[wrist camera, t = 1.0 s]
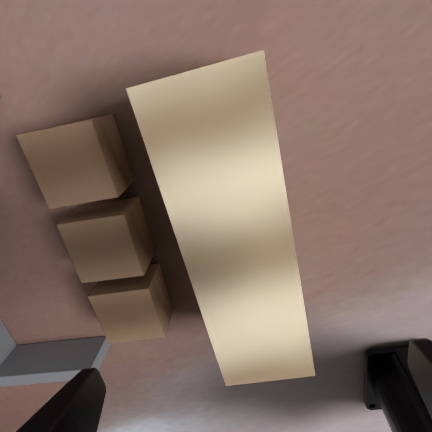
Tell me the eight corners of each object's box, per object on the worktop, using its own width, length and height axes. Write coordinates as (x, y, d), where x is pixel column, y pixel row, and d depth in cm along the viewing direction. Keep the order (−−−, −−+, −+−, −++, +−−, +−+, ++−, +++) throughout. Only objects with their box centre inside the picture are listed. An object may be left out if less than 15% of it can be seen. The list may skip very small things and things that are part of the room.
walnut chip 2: (173, 306, 22) (165, 337, 20) (123, 312, 23) (108, 343, 20) (159, 261, 21) (148, 288, 18) (106, 269, 21) (87, 296, 18)
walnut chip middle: (155, 249, 20) (143, 275, 18) (101, 257, 21) (81, 283, 18) (139, 195, 19) (123, 214, 16) (81, 205, 19) (56, 224, 16)
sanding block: (294, 301, 22) (315, 375, 16) (227, 311, 22) (225, 386, 17) (253, 62, 15) (263, 50, 10) (162, 87, 16) (126, 88, 11)
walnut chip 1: (135, 180, 18) (118, 197, 16) (75, 191, 19) (49, 209, 16) (114, 113, 17) (90, 119, 14) (50, 127, 17) (15, 135, 15)
